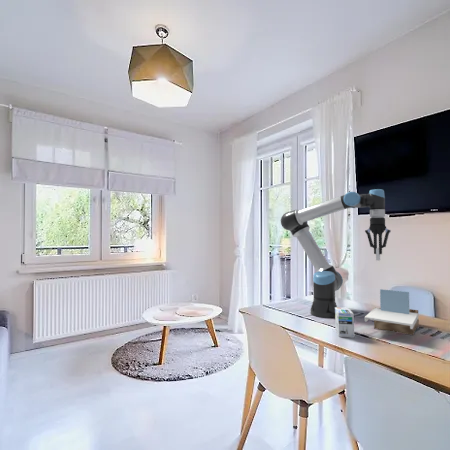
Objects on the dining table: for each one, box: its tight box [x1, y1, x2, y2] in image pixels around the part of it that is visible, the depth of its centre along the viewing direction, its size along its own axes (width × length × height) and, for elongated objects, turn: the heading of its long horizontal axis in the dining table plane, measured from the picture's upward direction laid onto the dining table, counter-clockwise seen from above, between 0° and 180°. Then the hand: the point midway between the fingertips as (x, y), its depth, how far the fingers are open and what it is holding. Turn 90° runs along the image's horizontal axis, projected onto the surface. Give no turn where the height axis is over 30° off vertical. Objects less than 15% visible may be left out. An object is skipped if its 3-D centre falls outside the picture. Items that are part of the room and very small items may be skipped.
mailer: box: [373, 308, 420, 336], centre depth 150 cm, size 16×20×7 cm
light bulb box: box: [334, 306, 355, 339], centre depth 140 cm, size 11×7×11 cm, turn 168°
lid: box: [364, 288, 419, 329], centre depth 140 cm, size 18×21×12 cm
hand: (378, 260), depth 170 cm, fingers closed
